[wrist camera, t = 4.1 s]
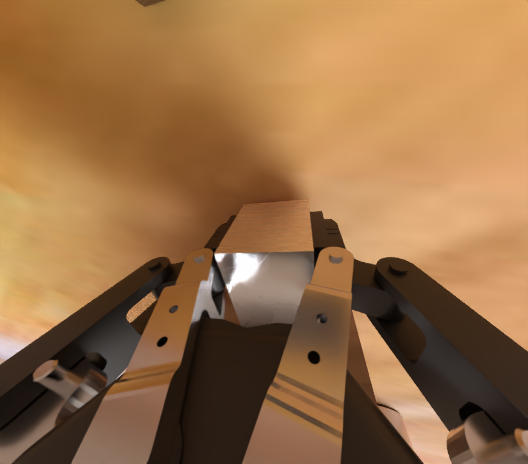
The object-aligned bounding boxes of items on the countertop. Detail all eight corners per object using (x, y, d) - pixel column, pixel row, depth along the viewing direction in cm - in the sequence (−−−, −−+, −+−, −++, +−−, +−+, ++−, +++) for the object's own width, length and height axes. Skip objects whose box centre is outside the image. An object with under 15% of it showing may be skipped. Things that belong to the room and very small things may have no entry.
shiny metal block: (312, 314, 17) (317, 381, 12) (268, 312, 17) (259, 374, 13) (308, 198, 11) (313, 251, 7) (243, 204, 12) (213, 253, 8)
